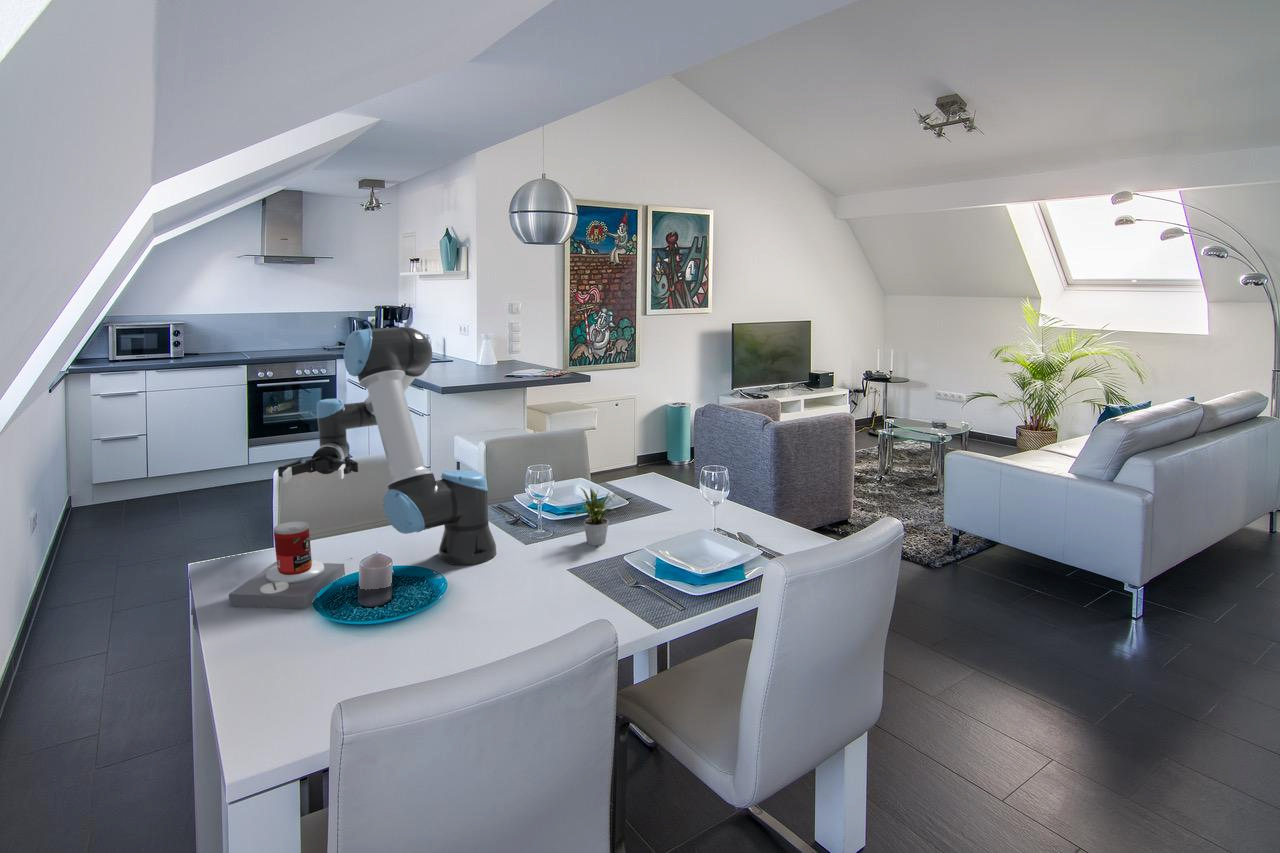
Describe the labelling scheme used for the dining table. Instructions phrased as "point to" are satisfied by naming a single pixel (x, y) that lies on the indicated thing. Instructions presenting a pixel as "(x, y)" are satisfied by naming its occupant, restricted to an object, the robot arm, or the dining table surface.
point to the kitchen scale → (285, 587)
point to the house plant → (595, 519)
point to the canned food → (292, 548)
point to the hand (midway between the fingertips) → (312, 476)
